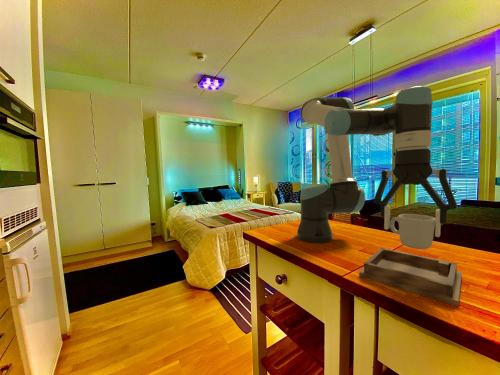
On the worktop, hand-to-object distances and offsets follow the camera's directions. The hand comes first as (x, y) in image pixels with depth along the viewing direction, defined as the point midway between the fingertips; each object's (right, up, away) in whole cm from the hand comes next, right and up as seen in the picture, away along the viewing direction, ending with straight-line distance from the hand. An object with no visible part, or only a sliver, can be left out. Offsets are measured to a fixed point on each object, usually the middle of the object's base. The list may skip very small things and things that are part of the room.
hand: (410, 231), depth 58 cm
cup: (0, -4, 0) cm, 4 cm away
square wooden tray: (0, -13, +1) cm, 13 cm away
